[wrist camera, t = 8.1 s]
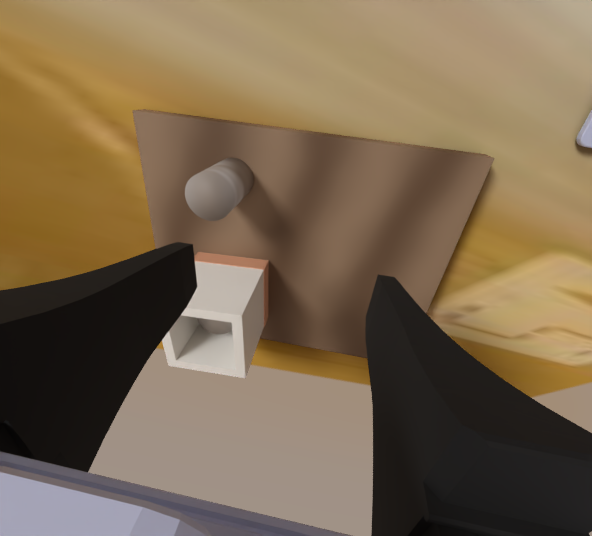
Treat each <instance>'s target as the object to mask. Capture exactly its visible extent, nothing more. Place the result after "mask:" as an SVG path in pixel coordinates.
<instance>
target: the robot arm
mask: <svg viewBox="0 0 592 536" xmlns="http://www.w3.org/2000/svg"><path fill="white" fill-rule="evenodd" d="M577 143H578V145H580V146H583V147H589V148H592V110H591V112H590V114H589V116H588V118H587V119H586V121H585V123H584V125H583V127H582V128H581V130H580V132H579V134H578V136H577ZM196 289H197V279H196V269H195V259H194V250H193V244H188V243H182V242H176V243H172V244H169V245H166V246H163V247H160V248H157V249H154V250H152V251H149V252H146V253H144V254H141V255H138V256H136V257H133V258H130V259H127V260H124V261H121V262H118V263H115V264H112V265H109V266H107V267H104V268H101V269H97V270H94V271H91V272H87V273H84V274H80V275H76V276H72V277H68V278H64V279H60V280H55V281H50V282H45V283H40V284H35V285H30V286H25V287H20V288H14V289H8V290H1V291H0V536H351V535H347V534H342V533H338V532H334V531H330V530H326V529H321V528H317V527H313V526H309V525H305V524H301V523H297V522H292V521H288V520H284V519H280V518H276V517H272V516H267V515H263V514H259V513H255V512H251V511H246V510H242V509H238V508H234V507H230V506H226V505H222V504H217V503H213V502H209V501H205V500H201V499H197V498H192V497H188V496H184V495H180V494H175V493H171V492H167V491H163V490H159V489H155V488H151V487H146V486H142V485H138V484H134V483H130V482H125V481H121V480H117V479H113V478H109V477H105V476H101V475H96V474H92V473H88V471H89V469H90V467H91V465H92V462H93V460H94V458H95V456H96V454H97V452H98V450H99V448H100V446H101V443H102V441H103V439H104V437H105V435H106V433H107V432H108V430H109V428H110V426H111V424H112V422H113V420H114V418H115V416H116V414H117V412H118V410H119V408H120V406H121V405H122V403H123V401H124V399H125V398H126V396H127V394H128V392H129V390H130V389H131V387H132V385H133V383H134V382H135V380H136V378H137V377H138V375H139V373H140V372H141V370H142V368H143V367H144V365H145V363H146V362H147V360H148V359H149V357H150V356H151V354H152V353H153V351H154V350H155V349H156V347H157V346H158V345H159V343H160V342H161V341H162V339H163V338H164V337H165V335H166V334H167V333H168V331H169V330H170V329H171V327H172V326H173V325H174V323H175V322H176V321H177V319H178V318H179V317H180V315H181V314H182V313H183V311H184V310H185V309H186V307H187V305H188V304H189V302H190V300H191V298H192V296H193V294H194V293H195V291H196ZM365 340H366V349H367V358H368V366H369V374H370V383H371V391H372V402H373V507H372V536H590V535H589V532H591V531H592V433H590V432H588V431H587V430H585V429H583V428H582V427H580V426H578V425H576V424H574V423H573V422H571V421H569V420H567V419H565V418H564V417H562V416H560V415H559V414H557V413H555V412H553V411H552V410H550V409H548V408H546V407H545V406H543V405H541V404H540V403H538V402H537V401H535V400H534V399H532V398H531V397H529V396H527V395H526V394H524V393H523V392H521V391H520V390H518V389H516V388H515V387H513V386H512V385H511V384H509V383H508V382H506V381H505V380H503V379H502V378H500V377H499V376H498V375H496V374H495V373H493V372H492V371H491V370H489V369H488V368H487V367H485V366H484V365H483V364H481V363H480V362H479V361H477V360H476V359H475V358H474V357H472V356H471V355H470V354H469V353H467V352H466V351H465V350H464V349H463V348H461V347H460V346H459V345H458V344H457V343H456V342H455V341H453V340H452V339H451V338H450V337H449V336H448V335H447V334H446V333H445V332H444V331H443V330H442V329H441V328H440V327H439V326H438V325H437V324H436V323H435V322H434V321H433V320H432V319H431V318H430V317H429V316H428V315H427V314H426V313H425V312H424V311H423V310H422V309H421V307H420V306H419V305H418V304H417V303H416V302H415V301H414V299H413V298H412V297H411V296H410V295H409V293H408V292H407V291H406V290H405V289H404V287H403V286H402V285H401V284H400V283H399V281H398V280H397V279H396V278H395V277H391V276H385V275H379V274H378V276H377V279H376V283H375V286H374V290H373V293H372V297H371V300H370V303H369V307H368V310H367V314H366V327H365Z"/></svg>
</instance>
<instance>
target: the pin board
mask: <svg viewBox="0 0 592 536" xmlns="http://www.w3.org/2000/svg"><path fill="white" fill-rule="evenodd" d="M133 116H134V122H135V128H136V134H137V140H138V146H139V152H140V158H141V164H142V170H143V176H144V182H145V188H146V194H147V200H148V206H149V211H150V217H151V223H152V229H153V235H154V241H155V247H156V249H157V248H160V247H163V246H166V245H169V244H172V243H176V242H182V243H188V244H193V250H194V256H195V255H196V254H197V253H198V252H204V253H212V254H220V255H229V256H237V257H245V258H254V259H262V260H269V270H268V319H267V322H266V325H265V327H264V328H263V330H262V333H261V336H260V338H262V339H267V340H272V341H278V342H283V343H288V344H294V345H299V346H305V347H310V348H315V349H321V350H326V351H331V352H337V353H342V354H347V355H353V356H358V357H363V358H367V349H366V340H365V327H366V314H367V310H368V307H369V303H370V300H371V297H372V293H373V290H374V286H375V283H376V279H377V276H378V274H379V275H385V276H391V277H395V278H396V279H397V280H398V281H399V283H400V284H401V285H402V286H403V287H404V289H405V290H406V291H407V292H408V293H409V295H410V296H411V297H412V298H413V299H414V301H415V302H416V303H417V304H418V305H419V306H420V307H421V309H422V310H423V311H424V312H425V313H427V311H428V308H429V306H430V304H431V302H432V299H433V297H434V295H435V292H436V290H437V288H438V286H439V283H440V281H441V279H442V277H443V274H444V272H445V270H446V267H447V265H448V263H449V261H450V258H451V256H452V254H453V251H454V249H455V247H456V245H457V242H458V240H459V238H460V236H461V233H462V231H463V229H464V226H465V224H466V222H467V220H468V217H469V215H470V213H471V211H472V208H473V206H474V204H475V201H476V199H477V197H478V195H479V192H480V190H481V188H482V186H483V183H484V181H485V179H486V176H487V174H488V172H489V170H490V167H491V165H492V163H493V160H494V158H492V157H490V156H488V155H485V154H478V153H471V152H463V151H455V150H448V149H440V148H433V147H425V146H418V145H410V144H402V143H395V142H387V141H380V140H372V139H365V138H357V137H349V136H342V135H334V134H327V133H319V132H312V131H304V130H296V129H289V128H281V127H274V126H266V125H259V124H251V123H243V122H236V121H228V120H221V119H213V118H206V117H198V116H190V115H183V114H175V113H168V112H160V111H153V110H145V109H144V110H133ZM197 319H198V322H199V324H200V325H201V326H202V327H203V328H204V329H205V330H207V331H209V332H211V333H214V334H226V333H228V332H229V331H231V329H232V323H231V322H224V321H217V320H210V319H203V318H197Z"/></svg>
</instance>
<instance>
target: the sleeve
mask: <svg viewBox="0 0 592 536" xmlns="http://www.w3.org/2000/svg"><path fill="white" fill-rule="evenodd" d="M194 259H195V269H196V279H197V289H196V291H195V293H194V294H193V296H192V298H191V300H190V302H189V304H188V305H187V307H186V309H185V310H184V311H183V313H182V314H181V315H180V317H179V318H178V319H177V321H176V322H175V323H174V325H173V326H172V327H171V329H170V330H169V331H168V333H167V334H166V335H165V337H164V338H163V339H162V342H163V346H164V350H165V353H166V358H167V361H168V365H169V366H174V367H180V368H186V369H193V370H199V371H205V372H211V373H217V374H223V375H229V376H235V377H241V378H246V375H247V373H248V369H249V367H250V364H251V361H252V358H253V356H254V353H255V350H256V347H257V344H258V342H259V339H260V336H261V333H262V330H263V328H264V327H265V325H266V322H267V319H268V270H269V260H262V259H254V258H245V257H237V256H229V255H220V254H212V253H204V252H198V253H197V254H196V255H195V256H194ZM197 318H203V319H210V320H217V321H224V322H231V323H232V329H231V331H229V332H228V333H226V334H214V333H211V332H209V331H207V330H205V329H204V328H203V327H202V326H201V325H200V324H199V322H198V319H197Z"/></svg>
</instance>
